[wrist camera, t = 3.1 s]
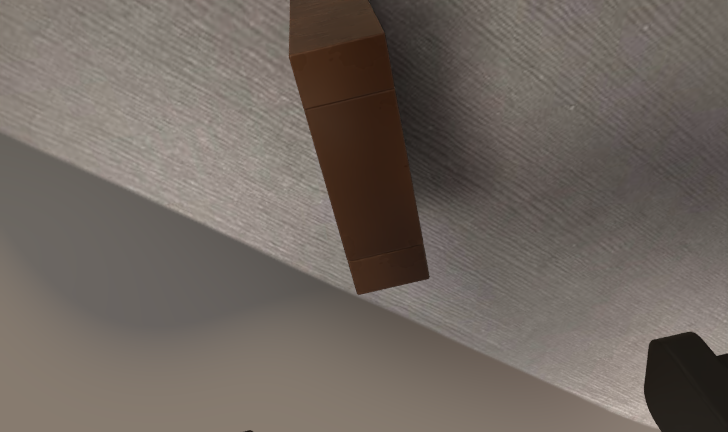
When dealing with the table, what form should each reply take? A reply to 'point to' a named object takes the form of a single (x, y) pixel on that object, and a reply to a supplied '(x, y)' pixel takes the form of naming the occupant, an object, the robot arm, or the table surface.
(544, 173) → the table surface
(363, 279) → the brown wooden box
